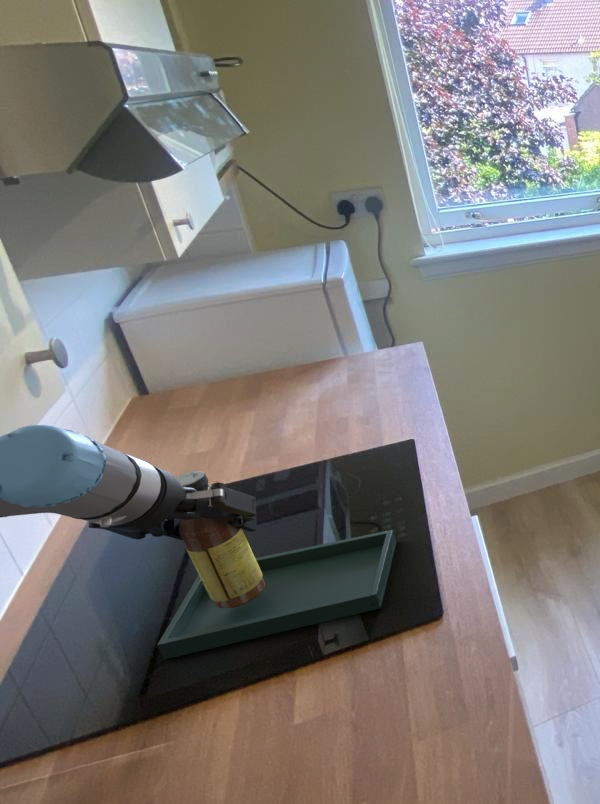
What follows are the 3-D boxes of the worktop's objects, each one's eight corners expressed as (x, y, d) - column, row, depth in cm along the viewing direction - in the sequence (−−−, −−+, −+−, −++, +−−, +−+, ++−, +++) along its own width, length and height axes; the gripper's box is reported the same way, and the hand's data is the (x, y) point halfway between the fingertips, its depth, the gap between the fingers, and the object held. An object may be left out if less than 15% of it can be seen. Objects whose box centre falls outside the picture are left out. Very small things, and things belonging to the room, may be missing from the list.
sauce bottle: (272, 576, 108) (228, 460, 100) (258, 605, 102) (210, 485, 94) (220, 586, 106) (171, 469, 98) (203, 616, 100) (149, 495, 92)
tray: (164, 659, 96) (156, 645, 95) (208, 582, 109) (201, 569, 108) (380, 608, 103) (376, 594, 102) (396, 542, 117) (392, 529, 116)
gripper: (14, 546, 78) (142, 571, 99) (223, 506, 84) (303, 537, 105) (20, 479, 81) (144, 516, 102) (223, 444, 86) (301, 487, 107)
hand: (225, 527), depth 103 cm, fingers closed on sauce bottle, 6 cm apart
